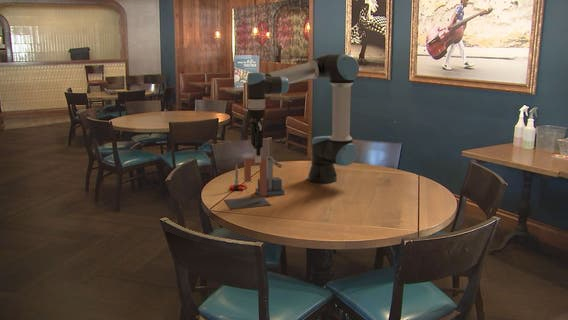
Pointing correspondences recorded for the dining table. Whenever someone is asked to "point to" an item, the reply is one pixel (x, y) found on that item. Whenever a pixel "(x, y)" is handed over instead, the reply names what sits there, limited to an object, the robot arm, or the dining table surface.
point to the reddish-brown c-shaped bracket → (263, 173)
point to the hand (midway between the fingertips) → (257, 161)
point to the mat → (246, 202)
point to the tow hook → (236, 186)
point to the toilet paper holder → (271, 180)
